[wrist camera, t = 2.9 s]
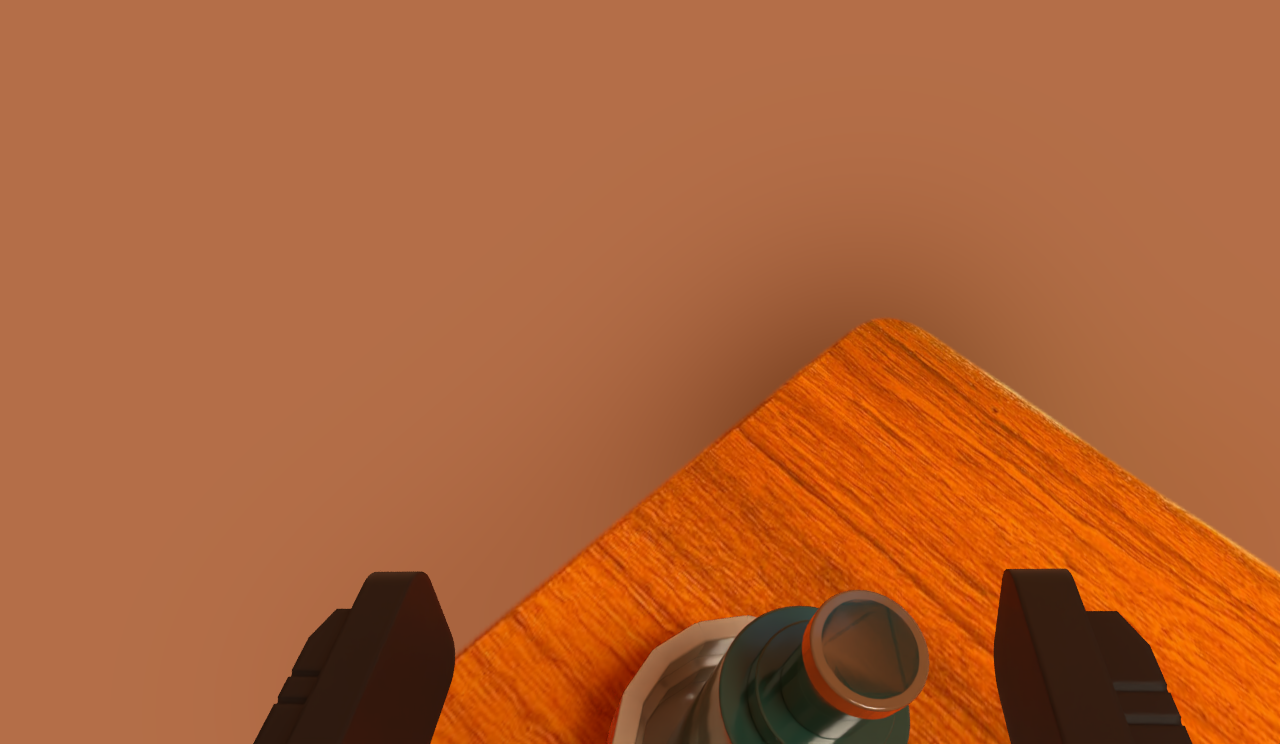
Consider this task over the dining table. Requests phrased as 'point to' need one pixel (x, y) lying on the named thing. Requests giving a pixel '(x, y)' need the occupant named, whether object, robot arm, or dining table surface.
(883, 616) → the bottle
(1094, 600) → the dining table surface
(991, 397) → the dining table surface
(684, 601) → the dining table surface
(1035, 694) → the robot arm
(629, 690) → the bowl
